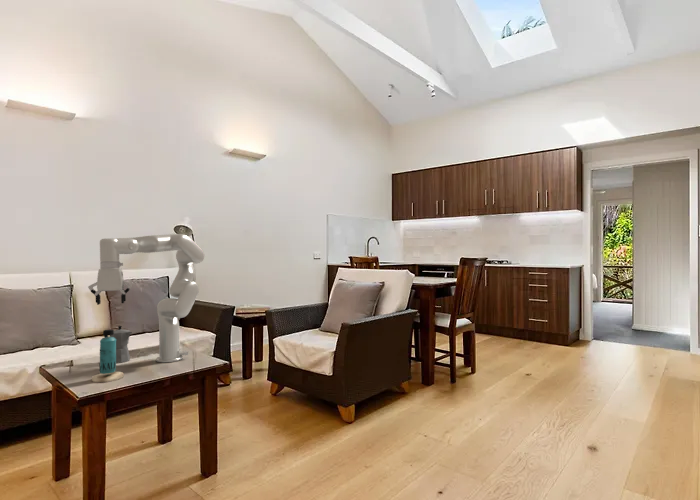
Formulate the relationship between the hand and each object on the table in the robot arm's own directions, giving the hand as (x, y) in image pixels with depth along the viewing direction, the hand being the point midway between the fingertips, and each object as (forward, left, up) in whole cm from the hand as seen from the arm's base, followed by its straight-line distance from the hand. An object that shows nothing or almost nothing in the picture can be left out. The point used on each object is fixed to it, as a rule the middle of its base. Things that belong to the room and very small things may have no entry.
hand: (111, 303), depth 187 cm
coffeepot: (+3, -28, -33) cm, 43 cm away
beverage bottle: (0, +4, -31) cm, 32 cm away
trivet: (0, +4, -32) cm, 33 cm away
